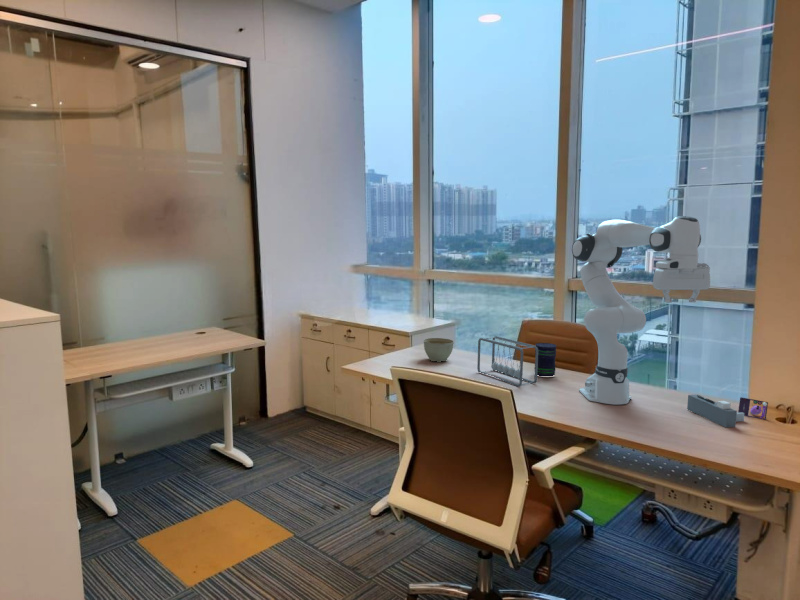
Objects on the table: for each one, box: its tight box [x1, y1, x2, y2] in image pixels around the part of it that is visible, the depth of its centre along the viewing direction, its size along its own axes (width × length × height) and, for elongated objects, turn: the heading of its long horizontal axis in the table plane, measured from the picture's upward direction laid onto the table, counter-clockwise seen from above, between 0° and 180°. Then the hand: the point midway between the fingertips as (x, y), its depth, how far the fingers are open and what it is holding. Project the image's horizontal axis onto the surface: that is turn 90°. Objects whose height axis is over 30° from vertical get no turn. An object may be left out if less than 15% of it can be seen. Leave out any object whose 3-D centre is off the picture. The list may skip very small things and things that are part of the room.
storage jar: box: [533, 342, 557, 376], centre depth 264 cm, size 10×10×15 cm
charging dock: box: [686, 394, 745, 428], centre depth 206 cm, size 20×12×8 cm, turn 10°
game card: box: [737, 396, 769, 421], centre depth 210 cm, size 7×5×9 cm
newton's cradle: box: [477, 335, 538, 387], centre depth 258 cm, size 30×10×18 cm, turn 32°
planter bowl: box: [423, 337, 455, 363], centre depth 292 cm, size 16×16×11 cm
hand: (680, 302), depth 193 cm, fingers open, 8 cm apart
